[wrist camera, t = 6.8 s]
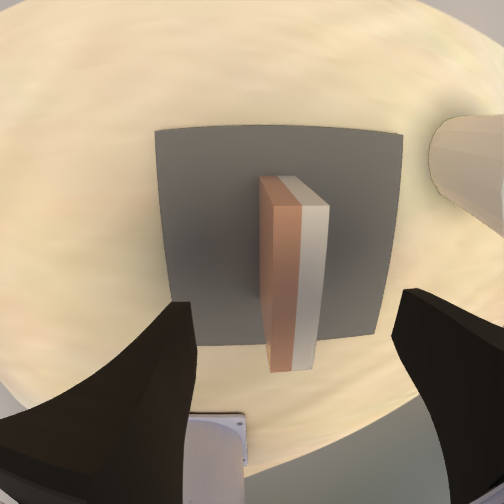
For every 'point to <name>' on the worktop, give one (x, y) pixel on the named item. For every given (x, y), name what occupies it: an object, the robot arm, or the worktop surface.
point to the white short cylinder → (471, 166)
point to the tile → (291, 269)
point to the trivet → (247, 221)
